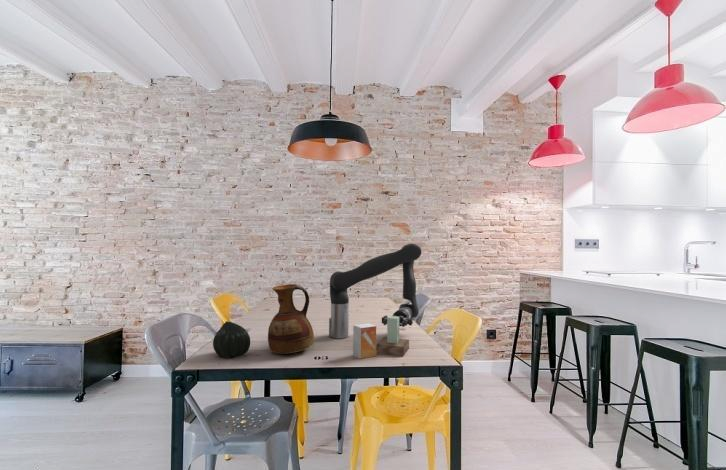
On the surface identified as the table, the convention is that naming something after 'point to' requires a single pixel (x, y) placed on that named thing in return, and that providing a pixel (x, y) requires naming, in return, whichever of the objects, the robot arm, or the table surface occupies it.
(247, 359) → the table surface
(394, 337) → the sage block
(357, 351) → the small box
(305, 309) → the ceramic pitcher
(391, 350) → the walnut base block
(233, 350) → the squash
